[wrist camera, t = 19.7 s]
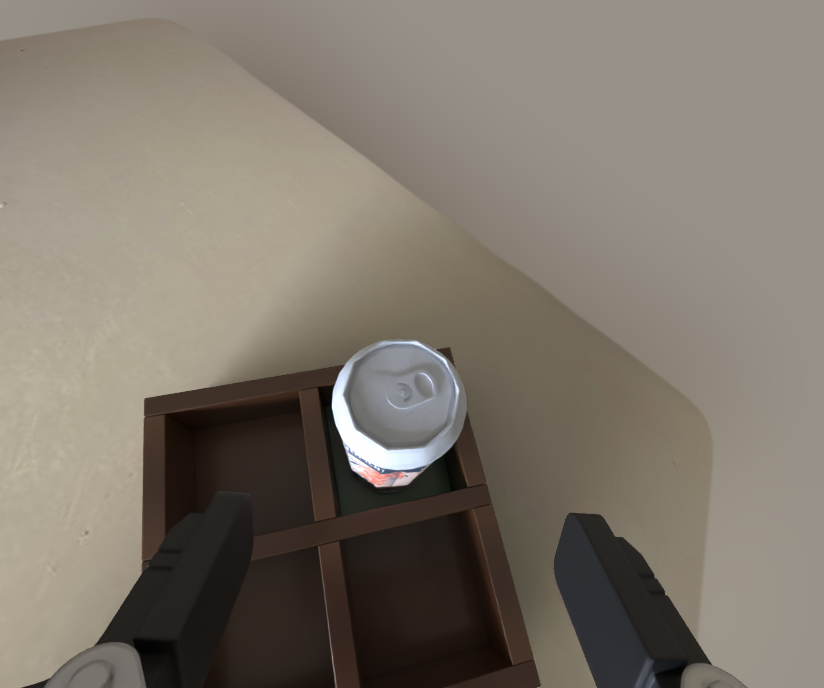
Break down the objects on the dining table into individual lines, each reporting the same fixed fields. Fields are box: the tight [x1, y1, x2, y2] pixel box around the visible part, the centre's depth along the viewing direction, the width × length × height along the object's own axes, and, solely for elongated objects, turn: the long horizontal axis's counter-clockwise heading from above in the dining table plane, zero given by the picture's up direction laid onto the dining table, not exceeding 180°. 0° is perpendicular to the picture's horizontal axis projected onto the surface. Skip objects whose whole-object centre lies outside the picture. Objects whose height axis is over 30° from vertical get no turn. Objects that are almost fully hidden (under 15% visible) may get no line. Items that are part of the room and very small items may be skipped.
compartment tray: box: [142, 347, 541, 688], centre depth 22 cm, size 16×16×4 cm
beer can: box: [332, 338, 467, 493], centre depth 20 cm, size 5×5×12 cm
